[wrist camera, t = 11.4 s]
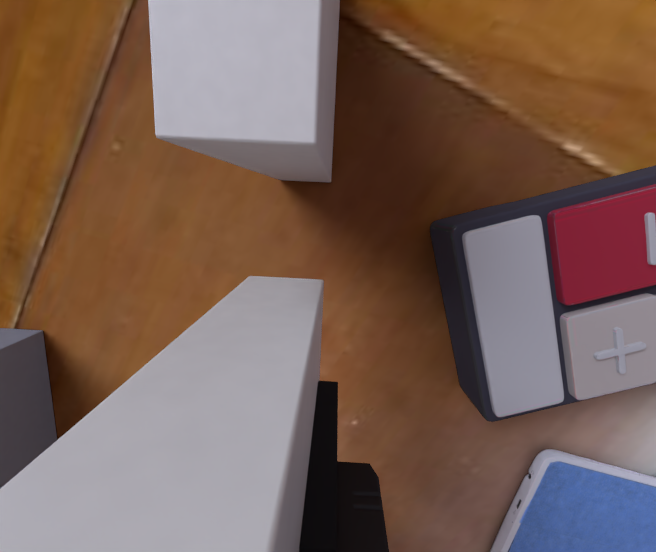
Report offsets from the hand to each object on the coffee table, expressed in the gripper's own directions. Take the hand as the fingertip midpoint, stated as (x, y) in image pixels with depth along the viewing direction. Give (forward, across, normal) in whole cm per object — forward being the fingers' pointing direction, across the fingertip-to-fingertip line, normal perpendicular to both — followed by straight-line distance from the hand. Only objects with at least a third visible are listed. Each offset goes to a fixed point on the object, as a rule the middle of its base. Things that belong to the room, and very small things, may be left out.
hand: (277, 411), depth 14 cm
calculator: (+9, +16, +4) cm, 19 cm away
